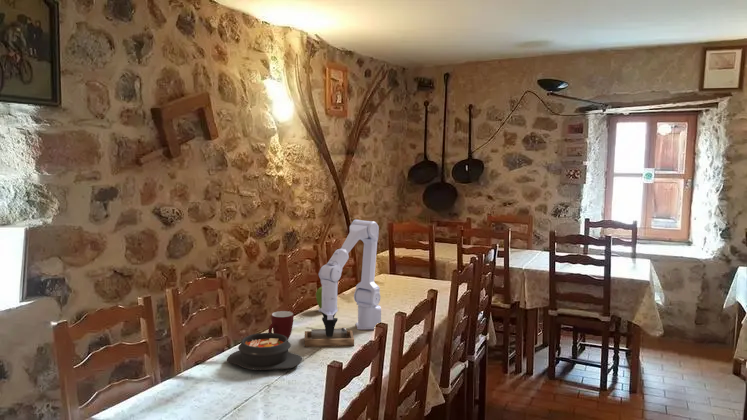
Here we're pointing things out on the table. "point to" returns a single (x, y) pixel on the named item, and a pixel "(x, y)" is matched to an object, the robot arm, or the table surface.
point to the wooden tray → (329, 341)
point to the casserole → (264, 353)
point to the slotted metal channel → (322, 334)
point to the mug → (282, 323)
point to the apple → (319, 297)
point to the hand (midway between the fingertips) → (329, 333)
